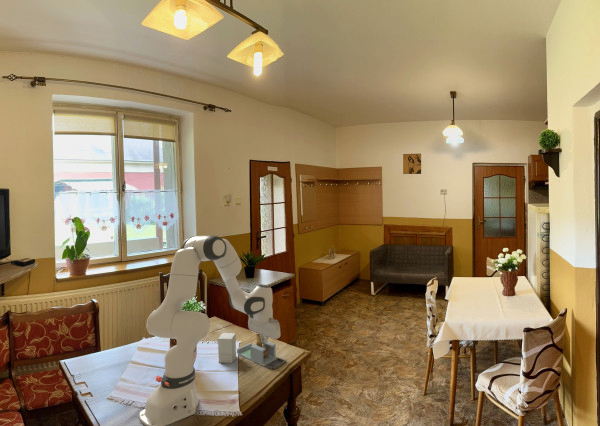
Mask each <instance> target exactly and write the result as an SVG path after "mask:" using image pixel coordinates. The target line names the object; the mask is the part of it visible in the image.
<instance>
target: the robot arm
mask: <svg viewBox="0 0 600 426" xmlns="http://www.w3.org/2000/svg"><path fill="white" fill-rule="evenodd" d="M207 261H213V264H214V265H215V267H216V269H217V271H218V272H219V274H220V276H221V279H222V282H223V284H224V286H225V289H226V291H227V293H228V299H229V304H230V305H229V306H230V307H231V308H232V309H233V310H235V311H239V312H241V313H244V314H245V315H247V316H248V321H247V324H248V325H247V327H248V330H249V331H251V332H253V333H256V334H259V335H260V338H261V342H263V343H265V344H266V343H267V341H268V339H269V338H270V339H274V340H277V339H279V338H280V337H281V325H280V322H279V321H278V319H274V317H273V316H274V315H273V314H274V310H273V302H274V301H273V297H274V296H273V288H271V286H270V285H267V284H262V283H261V284H257V285H256V287H254V289H253V290H252V291H251V292H247V291H245V290H243V289H242V288H241V287H240V284H239V282H238V279H237V276H238V275H240V272H241V271H242V268H243V266H242V262H241V259H240V257H239V254H238V253H237V251H236V250H235V248H234V246H233V245H232V244H231V242H230V241H229V240H228V239H227V238H222V237H220V236H218V235H197V236H191V237H188V238H186V239H185V240H184V241H183V242H182V245H181V247H180V249H179V250H177V251H176V252H175V254H174V257H173V259H172V263H171V267H170V274H169V280H168V286H167V291H166V294H165V298H164V299H163V301H162V303H161V304H160V305H159V306H158V308H156V309H155V310H153V311H152V312H151V313H150V314H149V316H148V317H147V320H146V325H145V326H146V330H147V333H148V334H149V335H151V336H154V337H157V338H161V339H162V338H163V339H173V340H176V344H175V345H173V346H172V347H170V348H169V349H168V350H166V352H165V355H164V373H163V376H161V375H157V376H156V377H155V381H156V382H158V383H160V384H159V385H158V386H157V388H156V389H155V390H154V391H153V392H152V393H151V395H149V396H148V397H147V399H146V401H145V408H144V409H143V410H142V409H141V411H139V415H138V416H139V417H138V418H139V420H140V422H141V423H142V424H143V425H144V426H169V425H170V424H174V423H176V422H178V421H181V420H184V419H185V418H187V417H190V416H192V415H195V414H196V413H197V411H196V410H197V407H198V405H199V402H200V400H199V398H198V395H197V390H196V384H195V383H196V382H195V380H196V369H195V365H194V362H195V359H194V357H195V351H196V348H197V345H198V344H199V342H200V341H201V340H202V339H204V338H206V337H207V335H208V333H209V332H210V328H211V322H210V318H209V317H208V315H207V314H206V313H203V312H199V311H197V310H183V309H182V308H183V306H184V304H185V303H186V302H188V301H190V300H192V299H193V298H194V297H195V296H196V294H197V287H198V278H199V267H200V264H201V262H207Z"/></svg>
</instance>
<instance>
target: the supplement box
mask: <svg viewBox="0 0 600 426" xmlns="http://www.w3.org/2000/svg"><path fill="white" fill-rule="evenodd" d="M236 339H237V338H236V333H234V332H231V333H230V332H221V334H220V335H219V337H218V338H217V346H218V347H217V348H218V349H217V351H218V352H217V353H218V363H224V364H225V363H226V364H233V363H234V362H235V360H236V357H237V348H236V347H237V344H236Z"/></svg>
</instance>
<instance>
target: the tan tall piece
mask: <svg viewBox="0 0 600 426" xmlns="http://www.w3.org/2000/svg"><path fill="white" fill-rule="evenodd" d="M255 337H256V338H255V339H256V341H255V342H256V344H255V345H257V346H260V347H262V348H265V349H266V350H265V351H263V358H264V357H266V356H268V348H267V347H265V346H263V344H262V342H261V338H260V335H259V333H256V336H255Z"/></svg>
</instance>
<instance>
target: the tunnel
mask: <svg viewBox="0 0 600 426" xmlns="http://www.w3.org/2000/svg"><path fill="white" fill-rule="evenodd" d="M262 346H265V347H267V348H268V356H266V357H264V358H263V351H265V350H266V349H265V348H262V347H260V346H257V345H256V344H253V343H252V342H250V343H247V344H245V345H243V346H241V347H239V348H236V354H237V355H238V356H241V357H242V358H244V359H247V360H249V361H252V362H254V363H256V364H258V365H261V366H263V367H265V368H267V369H268V370H271V371H274V370H276V369H277V368H279V367H280V366H283V365H284V364H286V363H287V360H285V359H283V358H281V357H279V356H276V355H277V354H276V352H277V350H276V347H277V346H276V343H274V342H271V341H268V340H267V343H266V344H265V343H263V342H262Z"/></svg>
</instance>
